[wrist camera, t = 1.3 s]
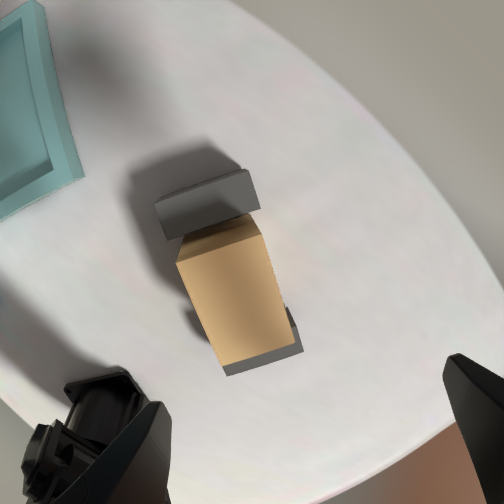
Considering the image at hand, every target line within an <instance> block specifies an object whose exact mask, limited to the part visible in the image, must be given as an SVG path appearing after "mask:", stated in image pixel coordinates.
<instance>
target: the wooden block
mask: <svg viewBox="0 0 504 504" xmlns="http://www.w3.org/2000/svg"><path fill="white" fill-rule="evenodd" d="M176 265H177V268H178V270H179V272H180V275H181V277H182V280H183V282H184V284H185V287H186V289H187V292H188V294H189V296H190V298H191V301H192V303H193V305H194V308H195V310H196V312H197V315H198V317H199V319H200V321H201V324H202V326H203V328H204V330H205V332H206V335H207V337H208V339H209V341H210V343H211V345H212V348H213V350H214V352H215V354H216V356H217V358H218V360H219V362H220V365H221V366H225V365H228V364H231V363H235V362H238V361H241V360H244V359H248V358H251V357H254V356H257V355H260V354H263V353H266V352H269V351H272V350H275V349H278V348H281V347H284V346H287V345H290V344H293V343H295V340H294V337H293V333H292V330H291V327H290V323H289V320H288V317H287V314H286V310H285V307H284V304H283V301H282V297H281V294H280V291H279V288H278V284H277V281H276V278H275V275H274V272H273V268H272V265H271V262H270V259H269V256H268V252H267V249H266V246H265V243H264V240H263V237H262V234H261V232H260V230H259V229H258V227H257V225H256V224H255V222H254V220H253V219H252V217H251V215H250V214H246V215H243V216H240V217H237V218H234V219H231V220H228V221H225V222H222V223H219V224H216V225H213V226H211V227H208V228H205V229H202V230H199V231H196V232H193V233H190V234H188V235H185V236H184V239H183V242H182V245H181V248H180V251H179V255H178V258H177V261H176Z"/></svg>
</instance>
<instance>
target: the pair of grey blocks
mask: <svg viewBox="0 0 504 504" xmlns="http://www.w3.org/2000/svg"><path fill="white" fill-rule="evenodd" d="M154 207H155V209H156V212H157V215H158V217H159V220H160V223H161V225H162V228H163V231H164V233H165V236H166V238H167V241H168V240H170V239H173V238H176V237H179V236H182V235H185V234H187V233H190V232H193V231H196V230H199V229H202V228H205V227H207V226H210V225H213V224H216V223H219V222H222V221H225V220H228V219H231V218H234V217H237V216H240V215H243V214H246V213H249V212H252V211H255V210H258V209H261V208H260V204H259V201H258V198H257V195H256V192H255V189H254V185H253V182H252V179H251V176H250V173H249V171H248V170H246V169H241V170H238V171H235V172H232V173H229V174H226V175H223V176H220V177H217V178H214V179H211V180H208V181H205V182H202V183H200V184H197V185H194V186H191V187H188V188H185V189H183V190H180V191H177V192H175V193H172V194H169V195H166V196H164V197H161V198H160V199H159V200H158V201H156V202H155V203H154ZM285 310H286V314H287V317H288V320H289V323H290V327H291V330H292V333H293V337H294V340H295V343H293V344H290V345H287V346H284V347H281V348H278V349H275V350H272V351H269V352H266V353H263V354H260V355H257V356H254V357H251V358H248V359H244V360H241V361H238V362H235V363H231V364H228V365H225V366H222V367H223V369H224V371H225V374H226V376H231V375H234V374H237V373H241V372H244V371H247V370H250V369H254V368H257V367H260V366H263V365H266V364H269V363H272V362H275V361H278V360H281V359H284V358H287V357H290V356H293V355H296V354H299V353H302V352H304V350H303V347H302V343H301V340H300V336H299V333H298V329H297V326H296V324H295V322H294V320H293V318H292V316H291V313H290V311H289V309H288V307H286V308H285Z"/></svg>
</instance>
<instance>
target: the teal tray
mask: <svg viewBox="0 0 504 504" xmlns="http://www.w3.org/2000/svg"><path fill="white" fill-rule="evenodd" d="M83 177H85V174H84V171H83V168H82V165H81V162H80V159H79V156H78V153H77V150H76V146H75V143H74V140H73V136H72V133H71V130H70V126H69V123H68V119H67V115H66V112H65V108H64V104H63V100H62V96H61V92H60V88H59V84H58V79H57V75H56V71H55V66H54V61H53V56H52V51H51V46H50V40H49V34H48V28H47V22H46V15H45V8H44V7H43V6H42V5H41V4H39V3H38V2H37V1H36V0H30V1H28V2H27V3H25V4H23V5H22V6H20V7H19V8H17V9H16V10H15V11H13V12H12V13H10V14H9V15H7V16H6V17H5V18H3V19H2V20H1V21H0V222H2V221H3V220H5V219H7V218H8V217H10V216H12V215H13V214H15V213H17V212H19V211H20V210H22V209H24V208H26V207H27V206H29V205H31V204H33V203H35V202H36V201H38V200H40V199H42V198H44V197H46V196H48V195H49V194H51V193H53V192H55V191H57V190H59V189H61V188H63V187H65V186H67V185H69V184H71V183H73V182H75V181H77V180H79V179H81V178H83Z"/></svg>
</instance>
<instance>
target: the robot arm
mask: <svg viewBox="0 0 504 504" xmlns="http://www.w3.org/2000/svg"><path fill="white" fill-rule="evenodd" d="M123 377H125V378H126V379H124V378H123ZM443 382H444V385H445V388H446V391H447V394H448V397H449V400H450V404H451V407H452V410H453V414H454V417H455V419H456V422H457V424H458V427H459V429H460V431H461V434H462V436H463V439H464V441H465V444H466V446H467V449H468V451H469V454H470V457H471V459H472V462H473V464H474V467H475V470H476V473H477V476H478V478H479V481H480V484H481V487H482V490H483V493H484V496H485V499H486V502H487V504H504V379H503V378H502V377H500V376H498V375H497V374H495V373H493V372H491V371H490V370H488V369H486V368H485V367H483V366H481V365H479V364H478V363H476V362H474V361H473V360H471V359H469V358H467V357H466V356H464V355H462V354H460V353H456V354H453V355H450V356H449V357H448V358H447V360H446V364H445V367H444V371H443ZM70 390H71V391H70ZM64 392H65V393H66V395H67V396H68V398H69V399H70V400H71V402H72V403H73V405H72V408H71V410H70V412H69V415H68V417H67V419H66V422H65V424H64V425H63V423H62V422H60V421H59V420H57V419H56V420H55V421H54V422H53V423H52V425H43V424H38V425H37V426H36V428H35V430H34V432H33V434H32V436H31V439H30V441H29V443H28V445H27V448H26V451H25V454H24V458H23V461H22V465H21V469H22V472H23V474H24V484H23V495H25V496H26V497H28V500H27V503H26V504H171V501H170V498H169V494H168V489H167V482H168V476H169V469H170V459H171V431H172V420H171V416H170V414H169V412H168V411H167V409H166V407H165V405H164V403H163V402H161V401H149V400H148V398H147V397H146V395H145V394H143V393H142V392H141V390H140V389H139V387H138V386H137V384H136V382H135V381H134V379H133V378H132V376H131V375H130V374H129V373H128V372H125V371H124V372H118V373H114V374H110V375H106V376H101V377H97V378H92V379H88V380H83V381H78V382H73V383H68V384H66V385H65V387H64Z"/></svg>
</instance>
